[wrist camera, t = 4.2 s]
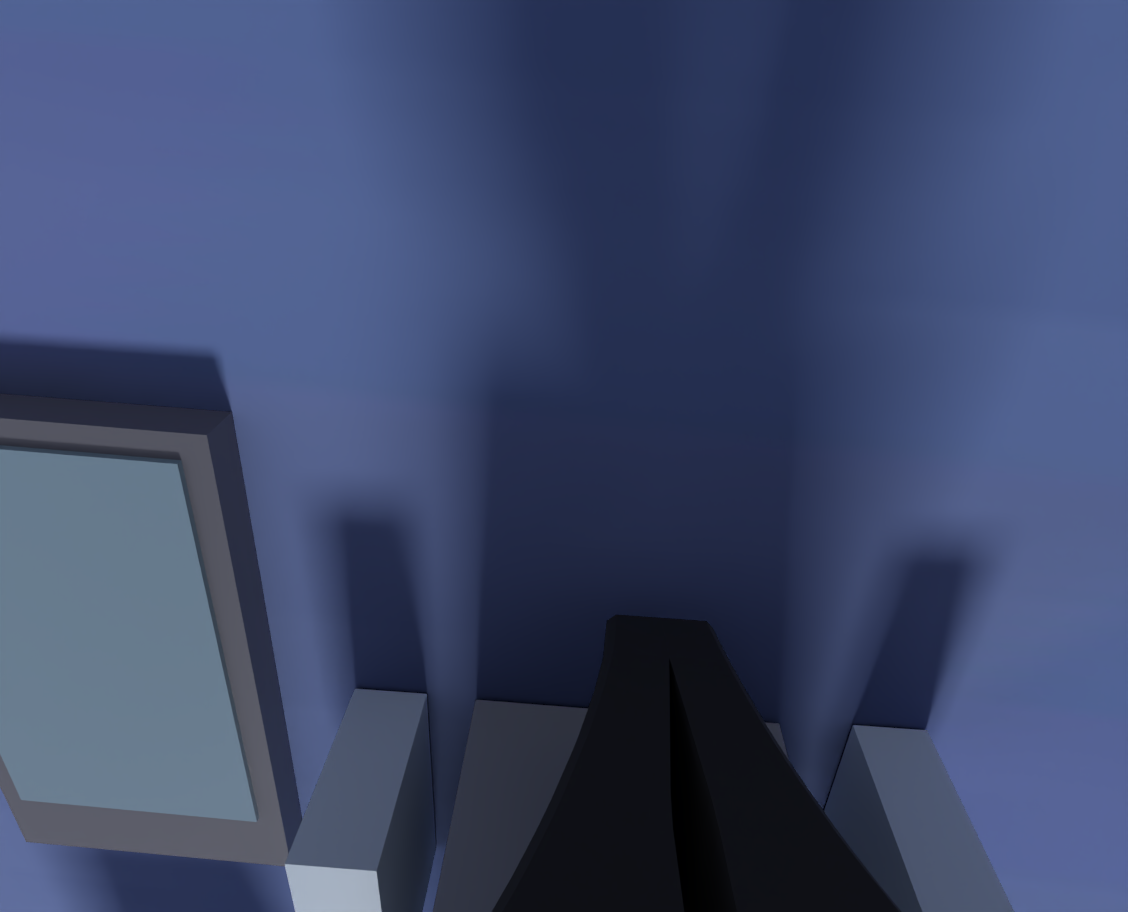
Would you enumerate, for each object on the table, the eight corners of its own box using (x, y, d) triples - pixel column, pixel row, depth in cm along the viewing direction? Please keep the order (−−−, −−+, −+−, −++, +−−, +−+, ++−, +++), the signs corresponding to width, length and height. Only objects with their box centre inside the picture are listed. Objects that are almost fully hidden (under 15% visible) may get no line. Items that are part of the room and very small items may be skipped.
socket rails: (927, 730, 12) (1019, 922, 9) (866, 880, 14) (926, 1073, 11) (354, 688, 12) (284, 863, 9) (374, 842, 14) (320, 1023, 11)
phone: (248, 396, 10) (202, 439, 9) (314, 808, 15) (289, 872, 13) (-101, 368, 10) (-190, 406, 9) (68, 785, 15) (22, 846, 13)
